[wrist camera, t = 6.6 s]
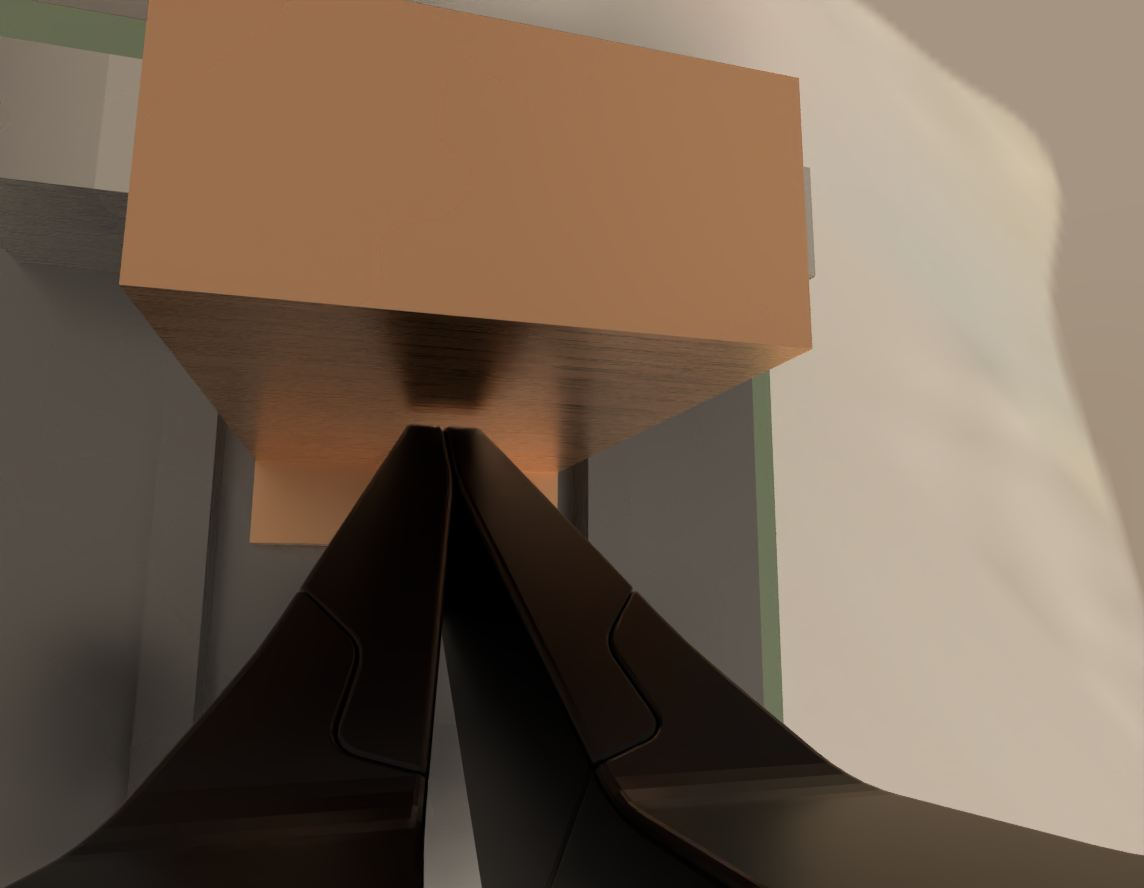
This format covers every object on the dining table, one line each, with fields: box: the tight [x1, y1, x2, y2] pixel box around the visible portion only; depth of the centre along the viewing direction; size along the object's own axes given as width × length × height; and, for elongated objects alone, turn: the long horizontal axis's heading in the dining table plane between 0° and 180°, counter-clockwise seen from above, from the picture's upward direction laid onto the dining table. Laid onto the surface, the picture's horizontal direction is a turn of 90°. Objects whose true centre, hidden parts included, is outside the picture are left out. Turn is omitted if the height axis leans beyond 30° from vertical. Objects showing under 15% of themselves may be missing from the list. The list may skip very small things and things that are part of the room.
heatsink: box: [0, 0, 815, 888], centre depth 13 cm, size 25×16×5 cm, turn 179°
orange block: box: [119, 0, 812, 546], centre depth 10 cm, size 8×5×9 cm, turn 179°
